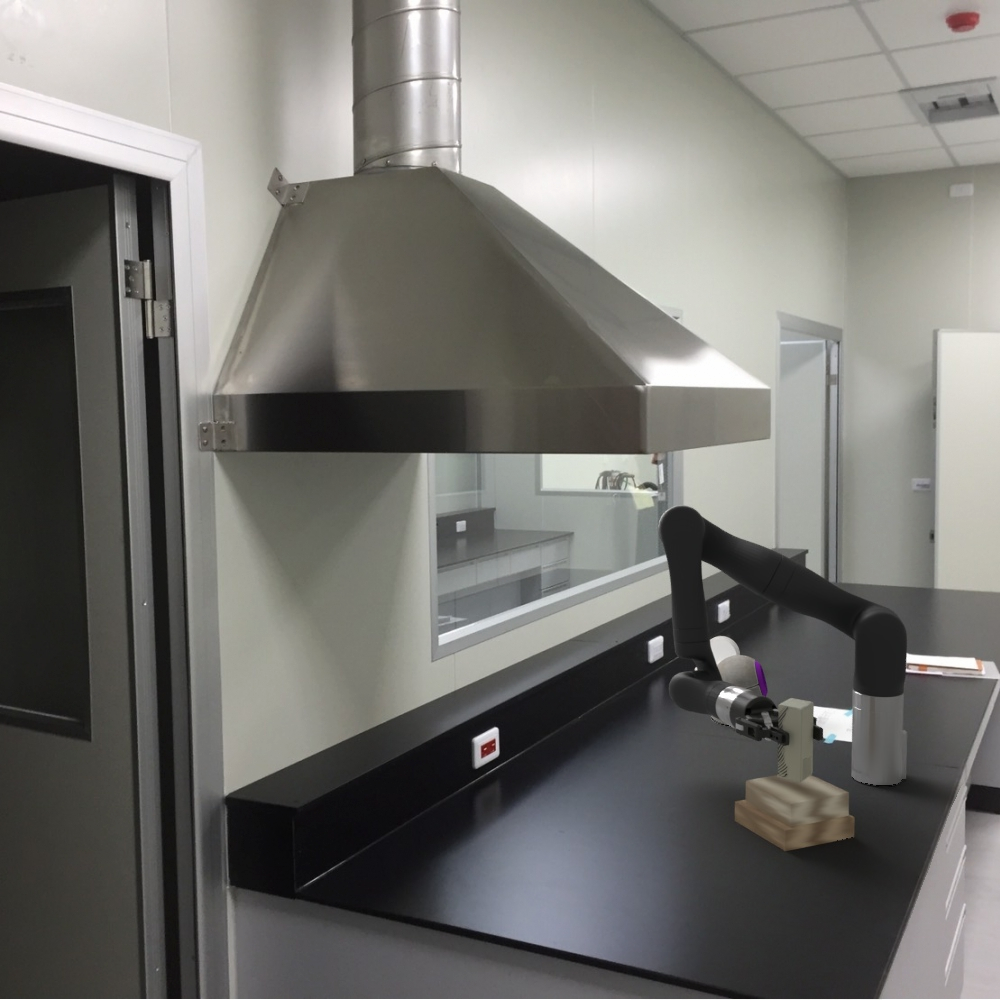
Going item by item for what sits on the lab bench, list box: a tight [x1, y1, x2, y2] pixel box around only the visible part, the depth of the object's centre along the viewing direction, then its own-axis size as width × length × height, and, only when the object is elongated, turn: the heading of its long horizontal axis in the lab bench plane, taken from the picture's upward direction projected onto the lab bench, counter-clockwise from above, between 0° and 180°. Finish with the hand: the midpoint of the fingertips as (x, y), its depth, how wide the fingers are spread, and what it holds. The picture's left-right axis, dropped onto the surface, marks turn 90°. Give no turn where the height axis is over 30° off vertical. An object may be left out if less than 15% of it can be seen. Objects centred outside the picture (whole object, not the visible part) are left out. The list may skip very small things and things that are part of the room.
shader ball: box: [710, 654, 769, 724], centre depth 244 cm, size 13×13×15 cm
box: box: [776, 697, 815, 782], centre depth 179 cm, size 5×4×13 cm
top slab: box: [745, 774, 850, 828], centre depth 180 cm, size 12×12×4 cm
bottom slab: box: [734, 799, 856, 852], centre depth 181 cm, size 14×14×4 cm
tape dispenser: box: [694, 635, 741, 671], centre depth 285 cm, size 10×18×11 cm, turn 154°
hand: (804, 737), depth 177 cm, fingers closed on box, 6 cm apart
